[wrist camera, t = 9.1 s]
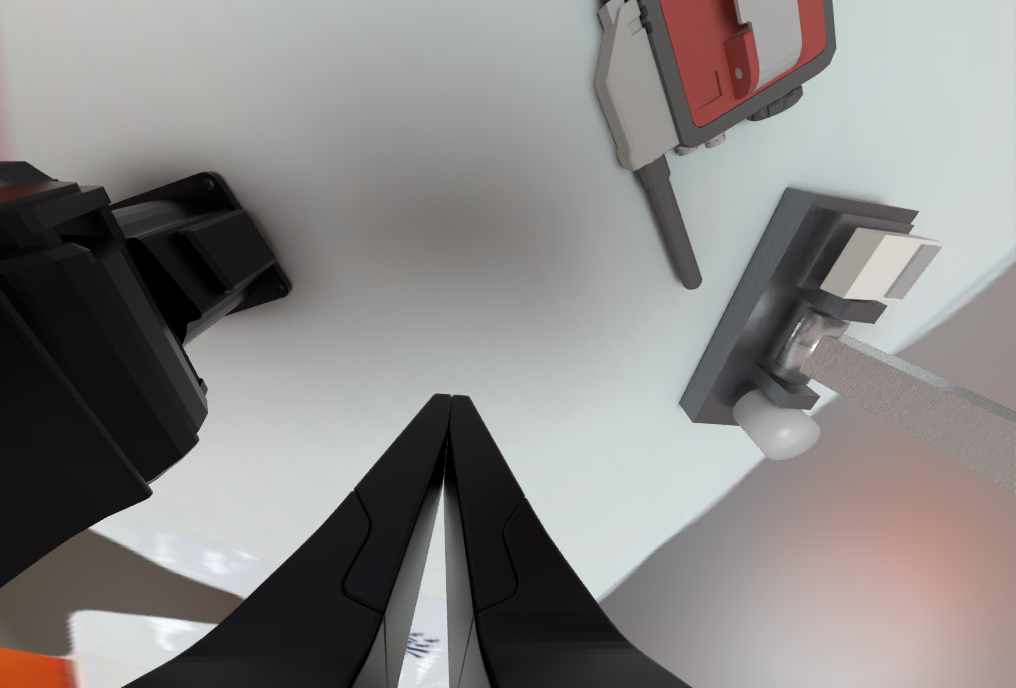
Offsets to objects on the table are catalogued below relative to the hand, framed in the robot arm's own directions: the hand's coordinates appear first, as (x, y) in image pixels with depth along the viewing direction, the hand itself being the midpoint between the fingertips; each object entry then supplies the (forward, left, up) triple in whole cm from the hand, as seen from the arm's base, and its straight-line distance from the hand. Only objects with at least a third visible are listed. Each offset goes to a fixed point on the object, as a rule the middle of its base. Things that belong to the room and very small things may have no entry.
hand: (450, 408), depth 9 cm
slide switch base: (+17, -10, -13) cm, 24 cm away
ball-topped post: (+17, -10, -10) cm, 22 cm away
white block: (+19, -6, -9) cm, 22 cm away
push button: (+15, -15, -11) cm, 24 cm away
